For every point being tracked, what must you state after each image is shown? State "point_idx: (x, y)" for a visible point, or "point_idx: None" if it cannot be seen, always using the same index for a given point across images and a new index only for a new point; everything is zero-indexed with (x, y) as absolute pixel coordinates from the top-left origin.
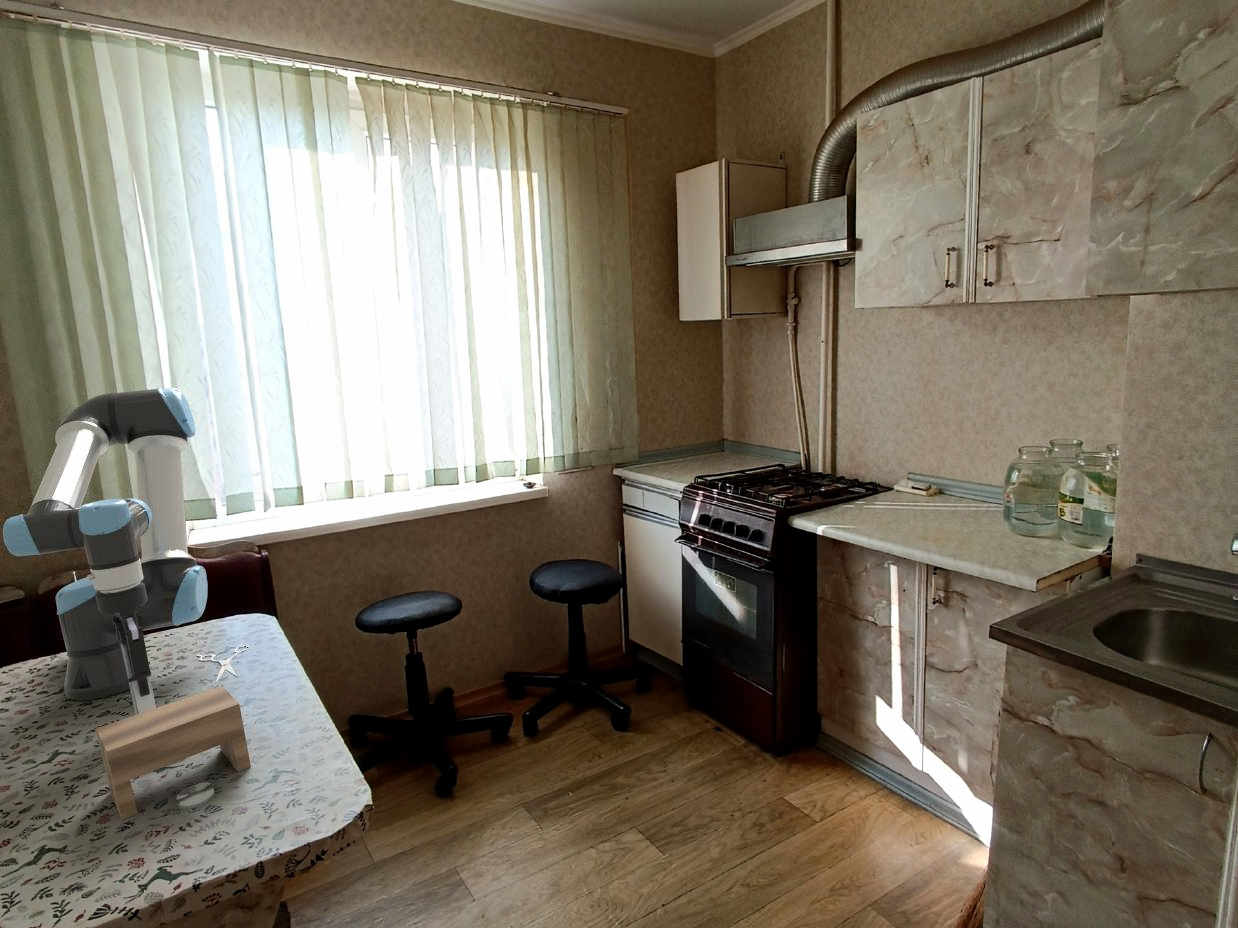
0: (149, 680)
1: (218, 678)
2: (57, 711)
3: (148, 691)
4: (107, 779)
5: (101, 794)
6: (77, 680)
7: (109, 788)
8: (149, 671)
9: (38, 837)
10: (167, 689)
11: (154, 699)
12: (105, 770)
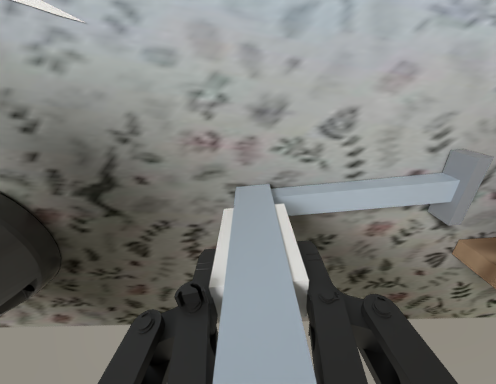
0: (303, 264)
1: (46, 5)
2: (85, 292)
3: (316, 249)
4: (476, 271)
5: (441, 261)
6: (9, 305)
7: (460, 259)
8: (407, 321)
9: (463, 304)
10: (69, 150)
11: (288, 217)
12: (494, 285)
